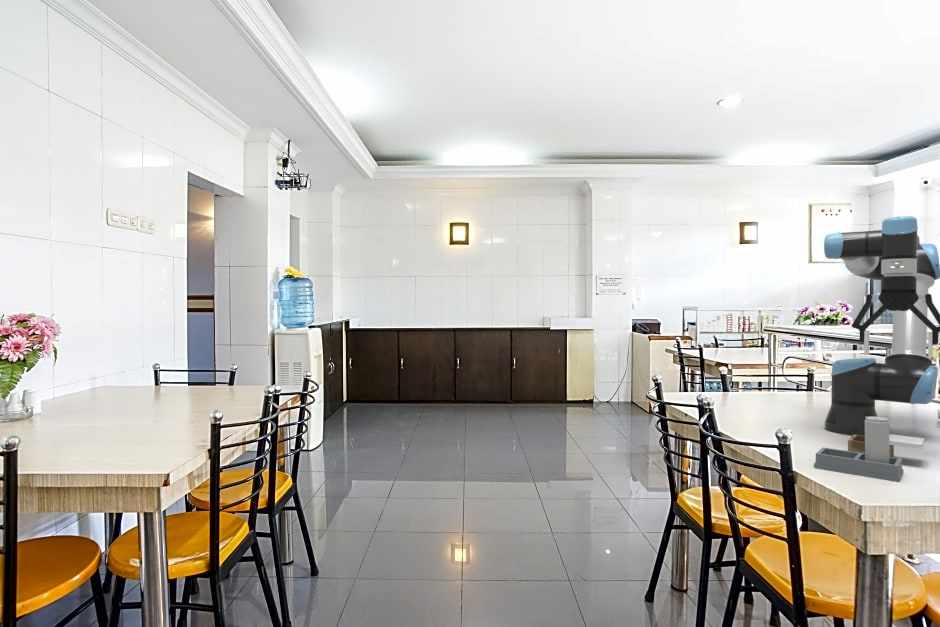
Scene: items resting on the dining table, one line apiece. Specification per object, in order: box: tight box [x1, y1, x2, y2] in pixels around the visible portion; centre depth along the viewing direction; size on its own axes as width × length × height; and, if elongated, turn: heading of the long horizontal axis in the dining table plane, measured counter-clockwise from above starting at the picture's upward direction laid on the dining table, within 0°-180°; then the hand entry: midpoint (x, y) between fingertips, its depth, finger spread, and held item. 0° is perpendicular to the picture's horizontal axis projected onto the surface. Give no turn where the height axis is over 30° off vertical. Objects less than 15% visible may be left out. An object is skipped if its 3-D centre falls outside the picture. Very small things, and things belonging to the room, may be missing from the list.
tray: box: [847, 435, 895, 458], centre depth 153 cm, size 9×9×4 cm
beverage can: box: [865, 416, 890, 464], centre depth 138 cm, size 5×5×12 cm
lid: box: [889, 433, 926, 450], centre depth 149 cm, size 9×9×3 cm
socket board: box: [813, 447, 905, 483], centre depth 140 cm, size 9×17×4 cm, turn 48°
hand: (897, 356), depth 153 cm, fingers open, 13 cm apart
